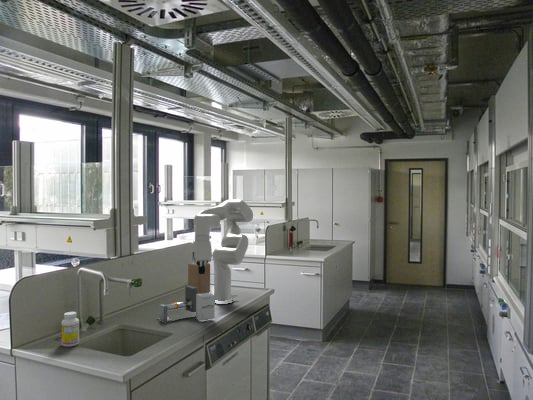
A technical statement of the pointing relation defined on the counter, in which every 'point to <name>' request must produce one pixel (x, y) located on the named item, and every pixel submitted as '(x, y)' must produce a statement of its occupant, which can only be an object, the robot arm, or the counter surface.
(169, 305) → the pipe rig
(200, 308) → the supplement box
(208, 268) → the block
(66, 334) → the supplement bottle
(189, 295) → the grey upright panel
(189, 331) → the counter surface
